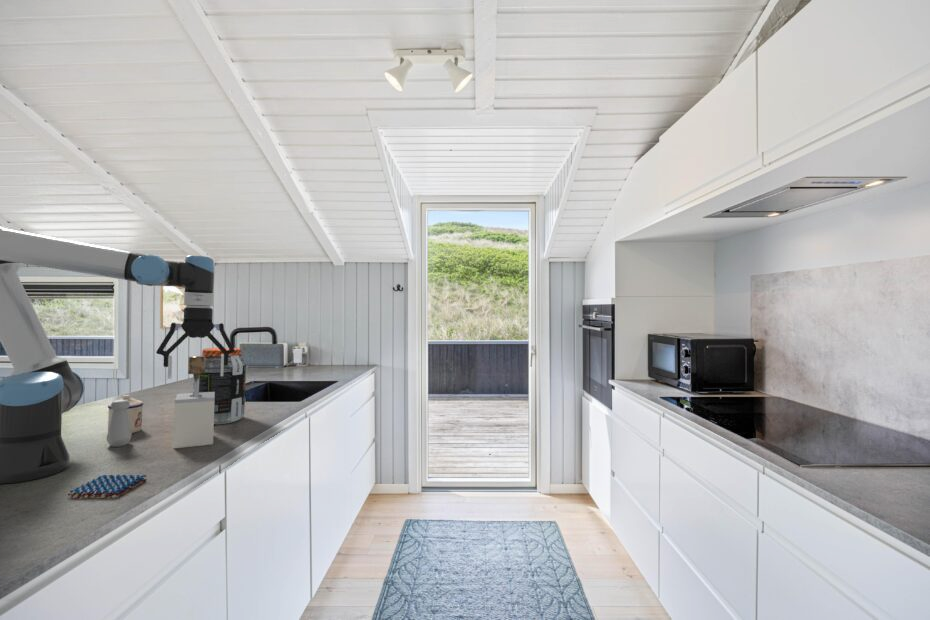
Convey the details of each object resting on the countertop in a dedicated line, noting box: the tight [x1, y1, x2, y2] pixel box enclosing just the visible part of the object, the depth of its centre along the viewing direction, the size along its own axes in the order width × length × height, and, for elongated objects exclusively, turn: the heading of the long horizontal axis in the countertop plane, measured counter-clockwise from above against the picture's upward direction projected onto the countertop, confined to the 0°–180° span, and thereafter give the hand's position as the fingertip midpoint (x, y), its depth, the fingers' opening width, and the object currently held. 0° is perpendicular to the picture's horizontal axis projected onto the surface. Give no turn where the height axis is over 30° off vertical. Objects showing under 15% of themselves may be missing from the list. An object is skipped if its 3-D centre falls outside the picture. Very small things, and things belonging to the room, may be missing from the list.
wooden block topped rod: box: [187, 355, 205, 397], centre depth 134 cm, size 7×7×24 cm
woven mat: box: [67, 474, 147, 500], centre depth 99 cm, size 10×11×2 cm
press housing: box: [172, 392, 215, 449], centre depth 134 cm, size 10×10×14 cm
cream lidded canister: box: [107, 394, 144, 434], centre depth 143 cm, size 12×9×12 cm
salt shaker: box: [106, 399, 132, 448], centre depth 129 cm, size 6×6×13 cm
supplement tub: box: [199, 347, 247, 425], centre depth 159 cm, size 16×16×26 cm
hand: (196, 376), depth 134 cm, fingers open, 13 cm apart
